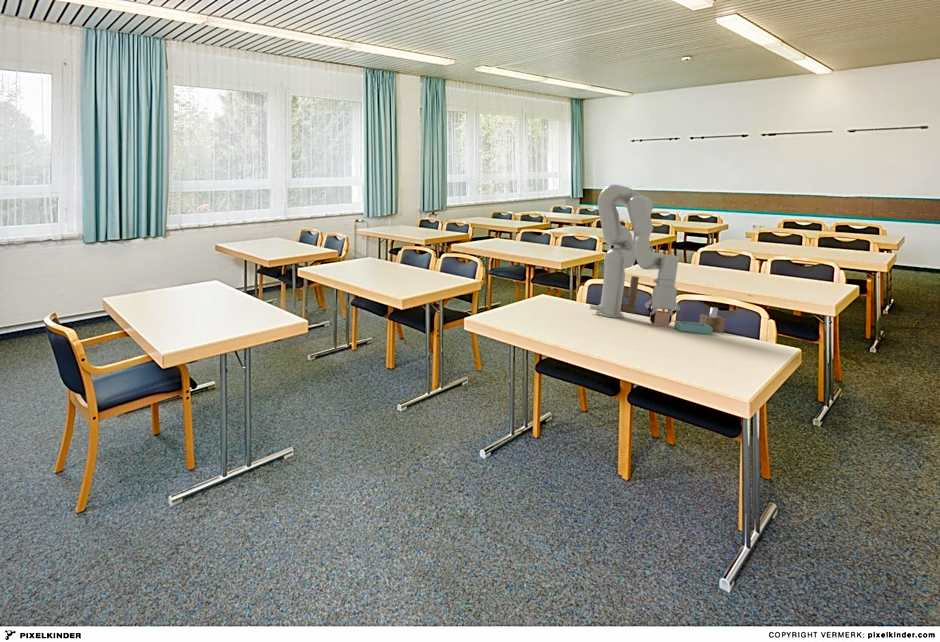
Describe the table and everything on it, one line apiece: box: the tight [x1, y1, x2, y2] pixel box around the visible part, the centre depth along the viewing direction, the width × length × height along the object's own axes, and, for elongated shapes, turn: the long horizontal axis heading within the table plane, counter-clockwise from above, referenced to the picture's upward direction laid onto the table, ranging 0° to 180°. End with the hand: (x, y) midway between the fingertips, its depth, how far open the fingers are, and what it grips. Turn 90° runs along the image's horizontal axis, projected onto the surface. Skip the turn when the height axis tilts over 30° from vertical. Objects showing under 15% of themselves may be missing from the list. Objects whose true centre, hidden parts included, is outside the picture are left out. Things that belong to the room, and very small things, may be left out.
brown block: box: [698, 314, 726, 334], centre depth 256 cm, size 8×8×6 cm
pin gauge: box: [708, 306, 719, 318], centre depth 256 cm, size 3×3×10 cm
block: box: [651, 309, 670, 328], centre depth 258 cm, size 6×6×6 cm
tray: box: [673, 320, 713, 335], centre depth 249 cm, size 13×10×3 cm
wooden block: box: [621, 275, 640, 314], centre depth 291 cm, size 4×11×18 cm, turn 52°
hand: (660, 323), depth 258 cm, fingers closed on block, 6 cm apart
